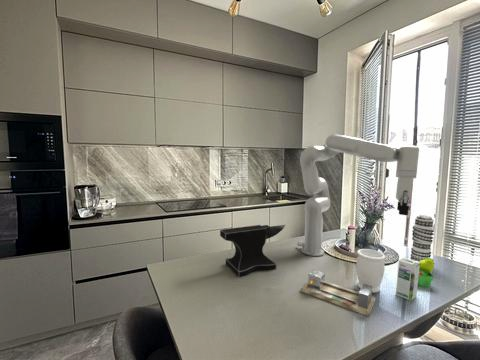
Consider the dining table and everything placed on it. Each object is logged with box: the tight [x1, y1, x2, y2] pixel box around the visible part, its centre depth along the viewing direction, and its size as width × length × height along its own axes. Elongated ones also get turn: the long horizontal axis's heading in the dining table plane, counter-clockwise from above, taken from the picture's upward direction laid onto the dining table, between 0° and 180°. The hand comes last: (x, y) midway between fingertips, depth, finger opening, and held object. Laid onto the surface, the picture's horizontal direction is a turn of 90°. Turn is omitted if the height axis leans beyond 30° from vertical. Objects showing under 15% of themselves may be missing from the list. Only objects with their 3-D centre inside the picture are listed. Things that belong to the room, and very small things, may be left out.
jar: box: [356, 248, 386, 294], centre depth 105 cm, size 11×10×15 cm
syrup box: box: [395, 257, 420, 302], centre depth 99 cm, size 6×6×14 cm
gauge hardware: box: [307, 282, 373, 309], centre depth 98 cm, size 22×8×5 cm, turn 53°
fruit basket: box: [418, 257, 435, 288], centre depth 111 cm, size 11×9×11 cm
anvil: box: [219, 224, 286, 279], centre depth 122 cm, size 35×15×20 cm, turn 117°
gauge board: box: [300, 280, 376, 317], centre depth 99 cm, size 25×12×2 cm, turn 53°
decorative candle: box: [409, 214, 435, 262], centre depth 130 cm, size 9×9×25 cm
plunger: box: [307, 269, 326, 289], centre depth 102 cm, size 5×9×5 cm, turn 142°
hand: (402, 212), depth 112 cm, fingers open, 9 cm apart
